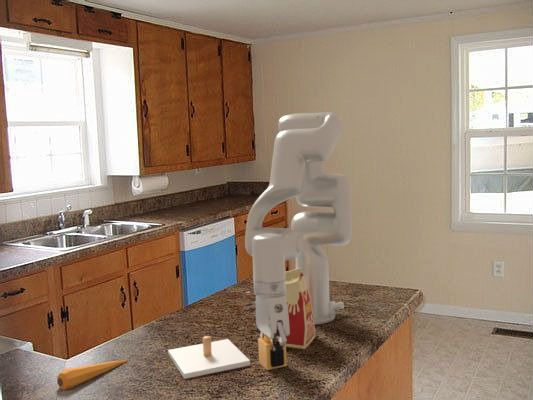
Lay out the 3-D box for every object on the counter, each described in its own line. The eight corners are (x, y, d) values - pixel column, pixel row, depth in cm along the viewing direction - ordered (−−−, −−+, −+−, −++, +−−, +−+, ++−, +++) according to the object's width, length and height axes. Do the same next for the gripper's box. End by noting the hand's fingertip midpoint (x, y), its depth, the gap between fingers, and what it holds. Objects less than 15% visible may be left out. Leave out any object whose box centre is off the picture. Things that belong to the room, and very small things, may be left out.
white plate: (228, 343, 149) (227, 322, 148) (250, 365, 134) (249, 342, 134) (168, 354, 143) (166, 332, 142) (184, 378, 128) (183, 354, 127)
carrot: (63, 396, 124) (67, 379, 123) (51, 384, 126) (56, 367, 125) (133, 372, 140) (138, 356, 139) (122, 362, 142) (126, 346, 141)
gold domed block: (278, 358, 138) (276, 328, 137) (286, 366, 133) (285, 335, 132) (259, 362, 136) (257, 332, 135) (267, 370, 131) (265, 339, 130)
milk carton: (315, 336, 151) (313, 263, 149) (306, 349, 143) (304, 272, 140) (283, 333, 154) (280, 262, 152) (272, 346, 146) (269, 270, 143)
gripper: (300, 293, 126) (302, 371, 128) (270, 276, 141) (272, 346, 143) (269, 298, 123) (272, 378, 125) (242, 280, 138) (245, 352, 141)
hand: (272, 360), depth 134 cm, fingers closed on gold domed block, 4 cm apart
